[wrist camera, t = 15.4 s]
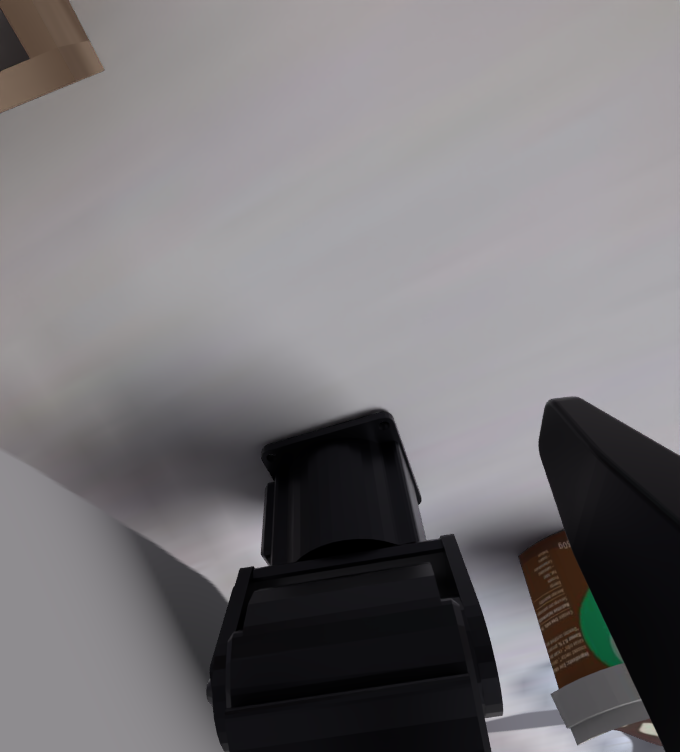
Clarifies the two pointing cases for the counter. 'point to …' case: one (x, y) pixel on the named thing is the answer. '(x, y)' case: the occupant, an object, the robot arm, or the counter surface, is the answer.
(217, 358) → the counter surface
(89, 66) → the walnut collar
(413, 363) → the counter surface
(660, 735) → the robot arm
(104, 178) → the counter surface
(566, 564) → the food container
